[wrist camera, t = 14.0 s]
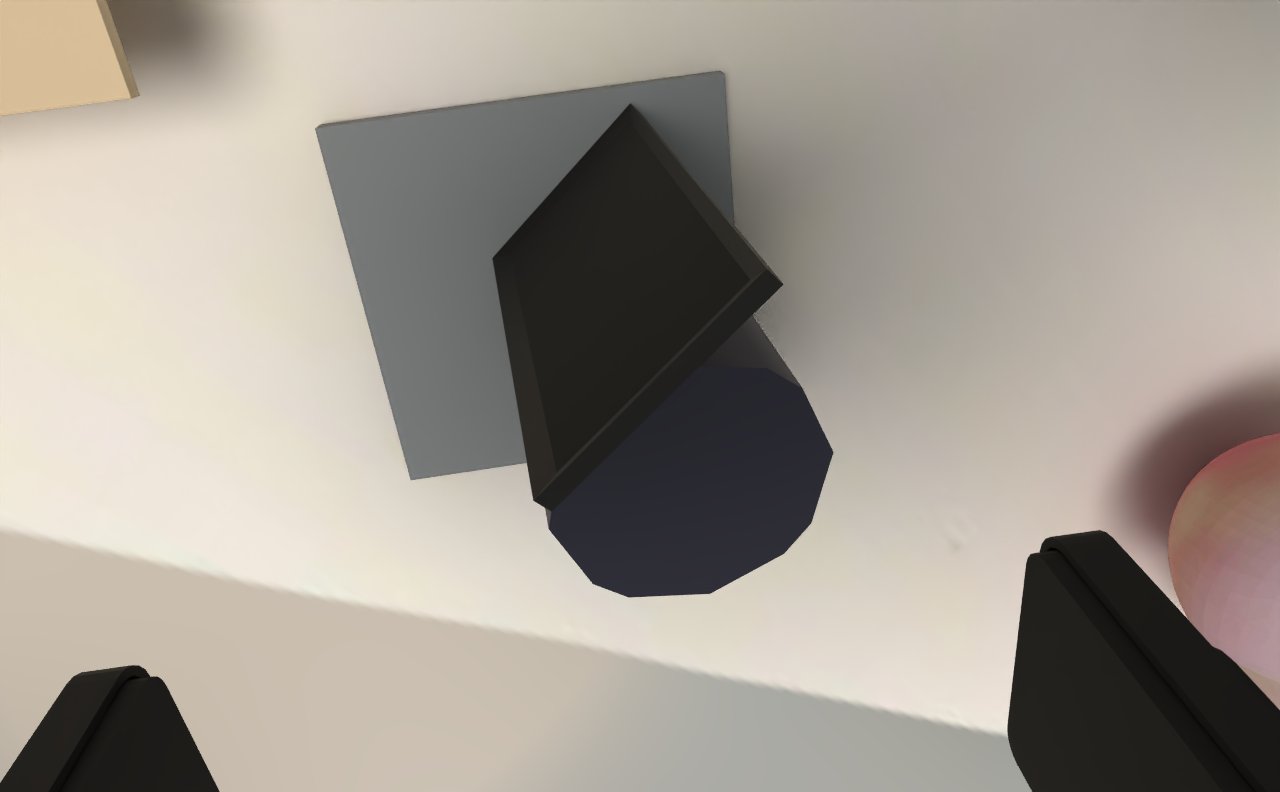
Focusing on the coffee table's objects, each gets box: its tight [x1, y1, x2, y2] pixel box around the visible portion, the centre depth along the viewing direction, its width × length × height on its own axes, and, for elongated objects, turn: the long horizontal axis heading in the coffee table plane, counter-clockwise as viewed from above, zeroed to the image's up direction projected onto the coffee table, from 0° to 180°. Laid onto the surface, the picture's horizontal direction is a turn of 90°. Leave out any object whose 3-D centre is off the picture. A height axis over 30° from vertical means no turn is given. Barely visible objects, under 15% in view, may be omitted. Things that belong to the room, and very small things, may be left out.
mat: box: [315, 71, 734, 480], centre depth 24 cm, size 10×10×1 cm
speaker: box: [492, 103, 833, 597], centre depth 19 cm, size 8×6×10 cm
